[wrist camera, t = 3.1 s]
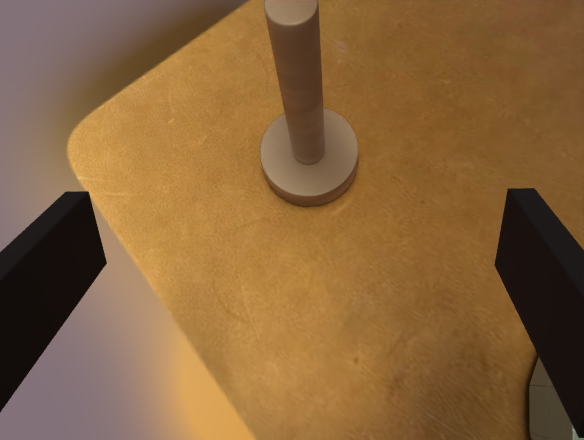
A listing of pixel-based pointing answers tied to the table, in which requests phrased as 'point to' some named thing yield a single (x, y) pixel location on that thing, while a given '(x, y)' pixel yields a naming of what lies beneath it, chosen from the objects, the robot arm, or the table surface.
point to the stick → (304, 114)
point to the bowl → (547, 410)
